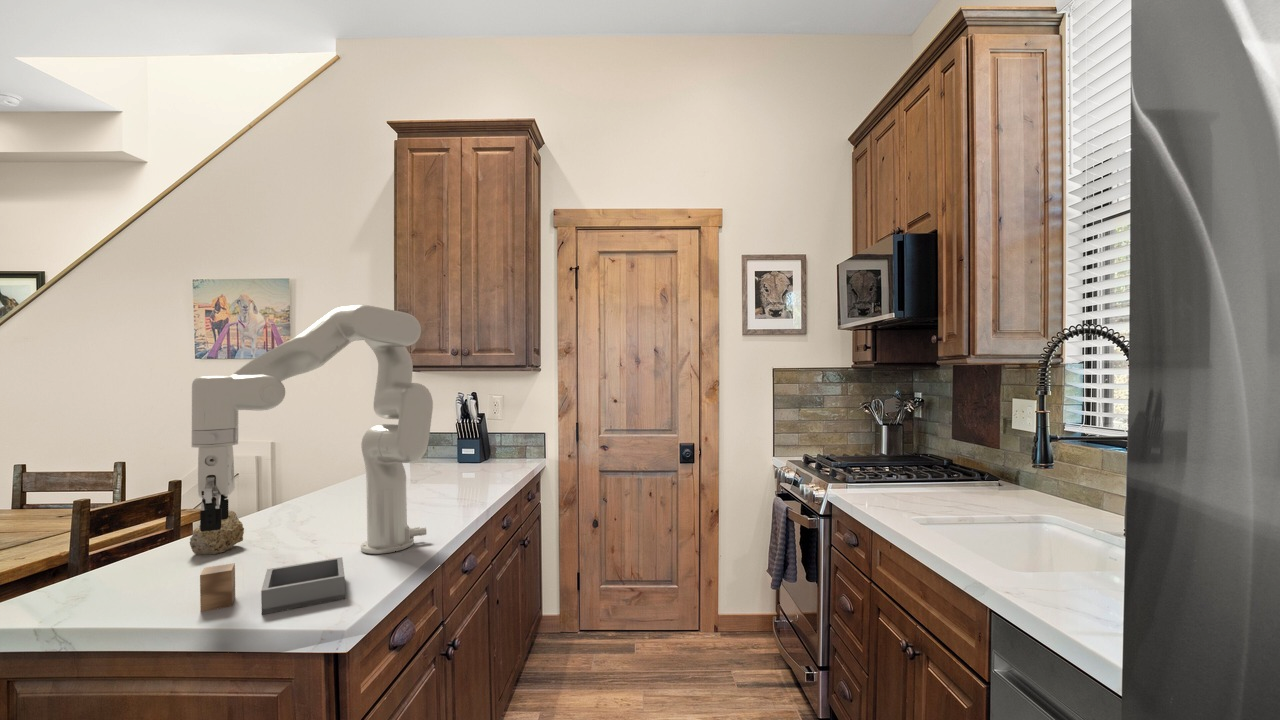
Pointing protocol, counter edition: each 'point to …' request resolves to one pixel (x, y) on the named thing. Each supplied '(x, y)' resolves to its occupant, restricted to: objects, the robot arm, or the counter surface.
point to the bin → (303, 585)
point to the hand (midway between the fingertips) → (214, 524)
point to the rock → (218, 537)
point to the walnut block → (217, 587)
